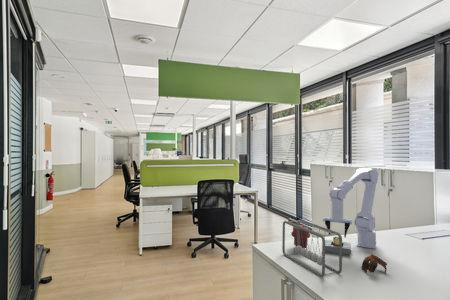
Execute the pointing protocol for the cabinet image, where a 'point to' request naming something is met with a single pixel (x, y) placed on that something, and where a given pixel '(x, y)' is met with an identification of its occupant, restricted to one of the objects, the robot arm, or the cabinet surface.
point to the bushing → (336, 241)
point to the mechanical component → (300, 236)
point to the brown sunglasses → (372, 263)
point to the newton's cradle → (310, 254)
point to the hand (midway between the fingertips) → (337, 236)
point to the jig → (337, 248)
